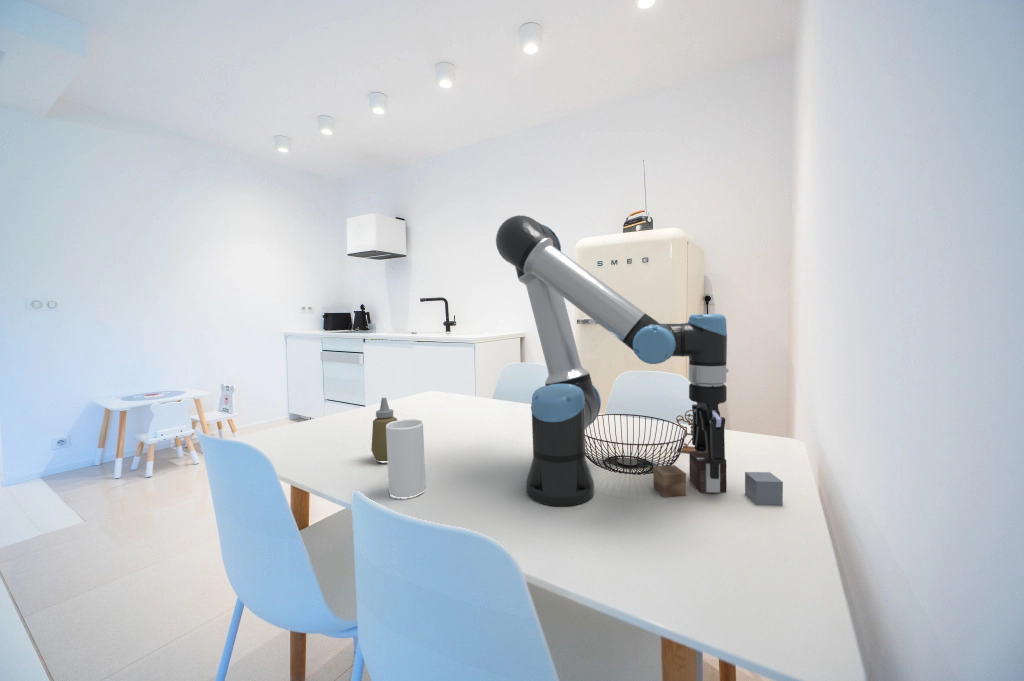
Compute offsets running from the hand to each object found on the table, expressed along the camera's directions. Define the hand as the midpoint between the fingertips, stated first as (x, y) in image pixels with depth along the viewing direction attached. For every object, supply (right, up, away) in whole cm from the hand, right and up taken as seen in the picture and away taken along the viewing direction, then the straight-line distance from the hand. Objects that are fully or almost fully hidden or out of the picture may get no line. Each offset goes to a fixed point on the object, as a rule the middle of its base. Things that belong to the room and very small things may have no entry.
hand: (707, 485), depth 91 cm
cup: (-68, -3, +3) cm, 68 cm away
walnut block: (-9, -1, -2) cm, 10 cm away
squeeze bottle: (-80, -2, +24) cm, 83 cm away
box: (0, -1, 0) cm, 1 cm away
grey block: (+8, -1, -7) cm, 11 cm away
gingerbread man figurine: (+7, +1, +23) cm, 24 cm away
